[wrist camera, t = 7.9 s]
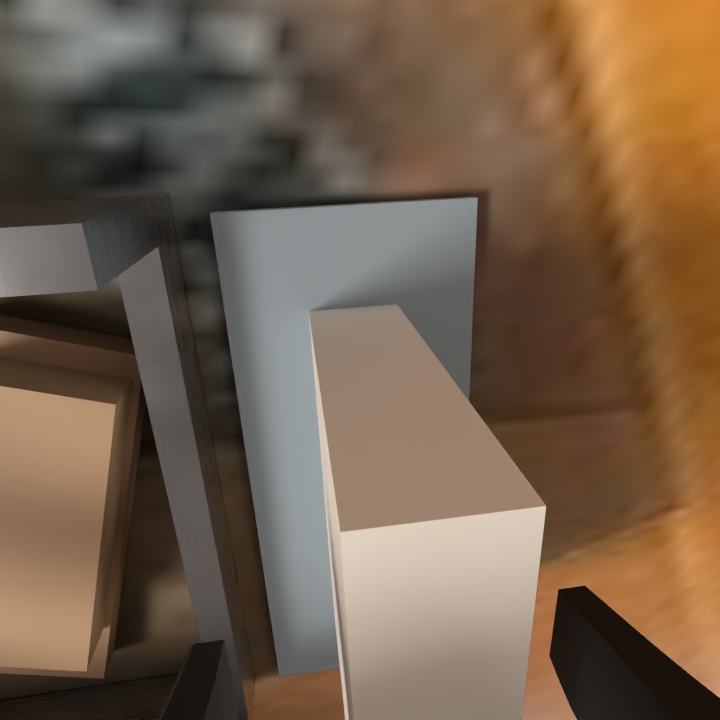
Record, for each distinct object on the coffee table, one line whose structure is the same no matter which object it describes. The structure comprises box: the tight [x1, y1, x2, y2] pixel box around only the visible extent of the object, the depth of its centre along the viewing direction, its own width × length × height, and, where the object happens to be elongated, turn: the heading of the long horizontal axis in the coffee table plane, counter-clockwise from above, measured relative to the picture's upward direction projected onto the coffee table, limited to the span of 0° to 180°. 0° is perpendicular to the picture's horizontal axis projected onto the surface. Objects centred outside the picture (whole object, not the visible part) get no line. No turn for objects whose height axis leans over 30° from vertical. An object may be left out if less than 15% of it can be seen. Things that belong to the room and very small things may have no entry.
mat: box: [210, 197, 478, 678], centre depth 17 cm, size 17×7×1 cm, turn 2°
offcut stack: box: [0, 314, 146, 679], centre depth 15 cm, size 12×4×3 cm, turn 165°
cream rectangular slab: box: [309, 304, 546, 720], centre depth 12 cm, size 12×2×9 cm, turn 2°
